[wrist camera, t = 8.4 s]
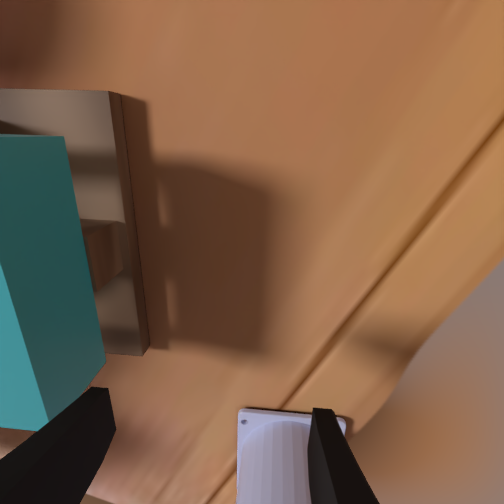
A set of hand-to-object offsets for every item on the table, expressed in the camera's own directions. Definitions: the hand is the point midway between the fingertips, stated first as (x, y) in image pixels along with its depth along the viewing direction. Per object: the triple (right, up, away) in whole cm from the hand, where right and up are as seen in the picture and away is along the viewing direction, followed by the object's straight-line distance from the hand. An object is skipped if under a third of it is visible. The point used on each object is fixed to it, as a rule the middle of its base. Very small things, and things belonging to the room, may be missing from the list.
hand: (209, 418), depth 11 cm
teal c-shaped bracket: (-12, +5, +5) cm, 14 cm away
